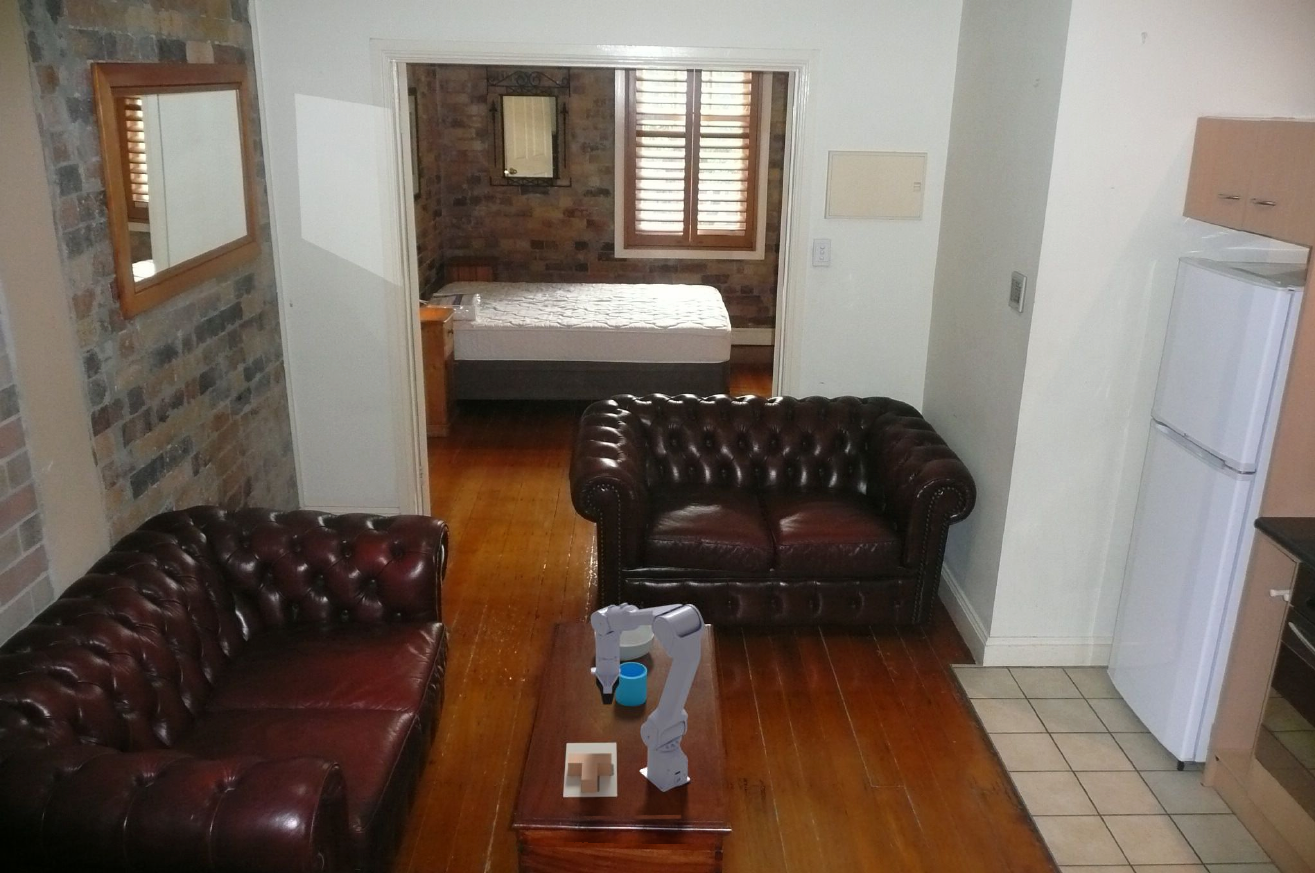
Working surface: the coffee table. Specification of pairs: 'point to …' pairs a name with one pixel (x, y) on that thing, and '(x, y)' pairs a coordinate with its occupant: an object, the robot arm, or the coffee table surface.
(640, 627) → the cereal bowl
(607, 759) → the t block
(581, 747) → the push mat
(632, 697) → the mug
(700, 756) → the coffee table surface
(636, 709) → the coffee table surface
